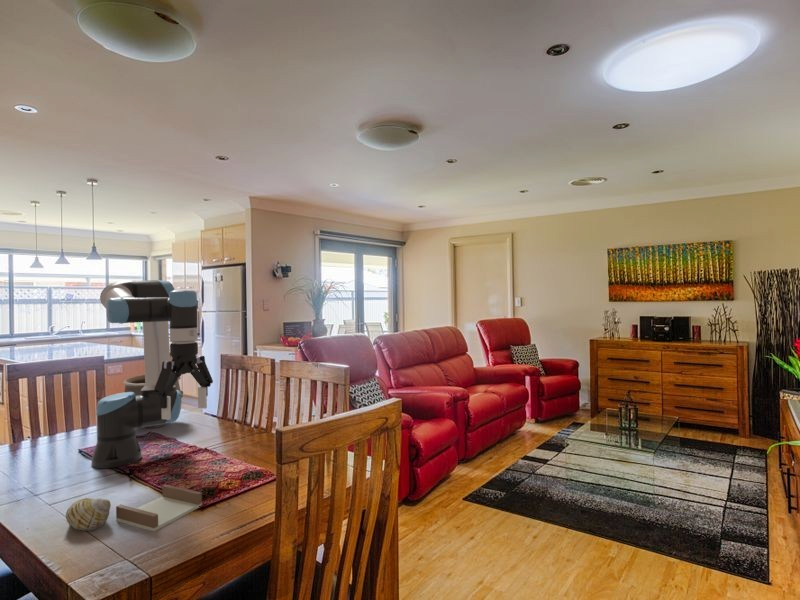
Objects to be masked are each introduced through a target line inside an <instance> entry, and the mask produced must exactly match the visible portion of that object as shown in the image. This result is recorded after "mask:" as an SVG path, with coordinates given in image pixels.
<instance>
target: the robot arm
mask: <svg viewBox="0 0 800 600" xmlns="http://www.w3.org/2000/svg"><path fill="white" fill-rule="evenodd" d="M173 285H174V284H173V283H171V282H170V281H169V280H168V281H167V280H159V279H157V280H156V279H155V280H152V279H151V280H149V279H148V280H146V279H145V280H144V279H143V280H141V279H140V280H138V279H135V280H134V279H133V280H131V279H130V280H128V279H127V280H126V279H125V280H119V281H116V282H113V283H110V284H109V285H106V287H104V288H103V289H102V291H101V292H100V297H99V300H100V303H101V304H102V305H101V306H103V308H104V309H106V318H107V322H108V323H110V324H121V325H123V324H131V323H133V324H134V323H142V332H143V333H142V334H143V356H144V357H143V358H144V362H143V363H144V375H145V386H144V387H143V388H142V389H141V395H138V396H135V393H134V392H124V391H123V392H119V393H114V394H111V395H107V396H105V397H102V398H101V399H100V400H98V401H97V404H96V413H95V415H96V435H97V436H96V438H97V440H96V444H95V447H94V450H93V454H92V456H91V466H92V467H93V468H96V469H112V468H119V467H123V466H122V465H124V466H126V464H127V465H130V464H129V463H131V464H133V463H136V462H137V460H138V461H139V460H140V459H142V448H141V447H140V443H139V441H138V439H137V437H136V430H137V429H140V428H144V427H148V426H154V425H160V424H163V425H162V426H164V425H167V424H171V423H174V422H176V421H177V420H178V419H179V417H180V415H181V410H182V399H183V398H182V399H181V392H180V391H178V390H176V386H175V385H174V384H175V383H176V381H177V379H178V377H180V378H181V377H182V375H186V374H190V375H191V376H192V377H193V379H195V381H196V382H197V384H198V385H199V386H197V404H198V405H197V407H198V409H203V410H204V409H207V408H208V406H207V405H208V403H207V401H208V399H207V398H208V394H209V393H208V392H209V391H208V388H209V387H211V384H213V383H214V380H213V378H212V376H211V374H210V371H209V368H208V366H207V364H206V358H205V355H198V353H199V343H198V342H197V341H198V338H199V337H198V303H199V301H198V295H197V292H196V291H195V290H175V287H174V286H173ZM135 461H136V462H135ZM132 462H133V463H132ZM118 466H119V467H118Z"/></svg>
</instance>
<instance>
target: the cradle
mask: <svg viewBox="0 0 800 600" xmlns="http://www.w3.org/2000/svg"><path fill="white" fill-rule="evenodd" d="M161 489H162V491H161V494H162V495H161V496H160V497H158V498H156V499H154V500H152V501H149V502H147V503H145V504H143V505H140V506H139V507H137V508H136V507H131V506H129V505H128V506H127V505H124V504H118V505H116V506H115V516H116V517H115V519H116V520H115V521H116V522H119V523H123V524H126V525H130V526H133V527H137V528H141V529H144V530H147V531H151V532H156V531H158V530H159V529H162V528H163V527H165V526H167V525H169V524H170V523H173V522H175V521H177V520H179V519H180V518H182V517H184V516H186V515H187V514H190V513H191V512H193V511H196V510H197V509H199V508H200V507H199V506H201V505H202V506H203V503H202V502H203V497H202V496H203V494H202V491H196V490H193V489H188V488H183V487H179V486H174V485H169V484H164V485H162V486H161ZM202 506H201V507H202Z"/></svg>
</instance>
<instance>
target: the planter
mask: <svg viewBox="0 0 800 600" xmlns="http://www.w3.org/2000/svg"><path fill="white" fill-rule="evenodd" d="M180 380H181V376H180V377H178V379H177V381H176V383H175V384H174V385H175V386H176V390H178V391H180V392H181V399H183V395H184V391H183V390H181V385H180V382H179V381H180ZM122 385H123V386H124V391H123V392H134V393H135V396H138V395H141V389H142V388H143V387H144V386H145V374H143V375H142V374H141V375H137V376H132V377H129V378H126V379H125V380H124V381H123V382H122ZM162 426H164V425H163V424H160V425H154V426H148V427H143V428H144V429H152V428H158V427H162Z"/></svg>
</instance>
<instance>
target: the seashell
mask: <svg viewBox="0 0 800 600" xmlns="http://www.w3.org/2000/svg"><path fill="white" fill-rule="evenodd" d="M110 510H111V501H110V500H109V499H106V498H91V497H90V498H86V497H85V498H81V499H79V500H77V501H75V502H73V503H72V504H70V506H69V507H68V508H67V510H66V512H65V519H66V522H67V523H68V525H69V526H72V527H73V528H75V529H76V530H78V531H79V530H80V531H83V532H89V531H93V530H96V529H98V528H100V527H102V526H103V525H104V524H105V523H106V522H107V521H108V518H109V515H110Z"/></svg>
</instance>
